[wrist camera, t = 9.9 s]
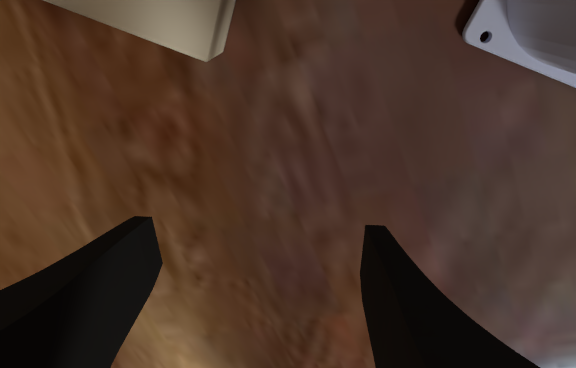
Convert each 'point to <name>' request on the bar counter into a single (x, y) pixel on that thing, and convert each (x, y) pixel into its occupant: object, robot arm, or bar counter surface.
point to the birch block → (164, 21)
